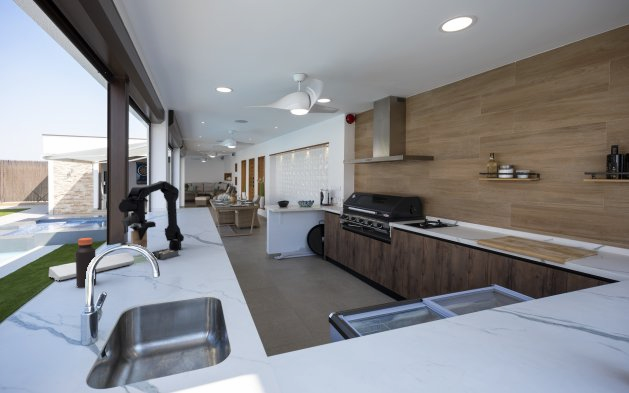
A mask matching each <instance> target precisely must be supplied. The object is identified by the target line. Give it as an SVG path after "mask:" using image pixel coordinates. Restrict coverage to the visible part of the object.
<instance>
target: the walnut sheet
mask: <svg viewBox="0 0 629 393" xmlns="http://www.w3.org/2000/svg"><path fill="white" fill-rule="evenodd" d="M131 243H133V244H138V245H141V246H143V247H145V248H144V249H147V248H148V230H147V231H146V233H145V234H144V236H143V238H142V240H140V238H139V231H138V230H136V231H134V230H130V244H131Z"/></svg>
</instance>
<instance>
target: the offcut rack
mask: <svg viewBox="0 0 629 393" xmlns="http://www.w3.org/2000/svg"><path fill="white" fill-rule="evenodd" d="M167 250H170V251H173V252H169V251H167ZM163 251H167V252H169V253H165V252H163ZM151 252H152V253H153V254H154V256H155V257H156V258H157V259H156V260H158V261H166V260H169V259H170V260H171V259H173V258H177V257H181V255H179V250H177V251H175V250H171V249H169V248H164V249H160V250H155V251H151ZM159 252H163V253H165V254H163V253H159Z"/></svg>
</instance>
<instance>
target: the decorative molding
mask: <svg viewBox="0 0 629 393" xmlns="http://www.w3.org/2000/svg"><path fill="white" fill-rule="evenodd" d="M132 256H133V255H131V254H130V253H128V252H121V253H118V254H117V253H116V254H111V255H106V257H105V256H103V257H104V258H103V259H102V260H101V261H100V262H99V264H98V265H97V267H96V273H99V272H103V271H108V270H112V269H117V268H120V267H124V266H130V265H134V264H133V263H134V261H136V260H133V258H134V257H132ZM49 277H51V278H53V279H54V281H56V280H57V281H58V282H59V280H60V281H63V280H64V281H65V280H67V279H72V278H76V261H75V262H70V263H69V262H68V263H65V264H59V265H54V266H50V267H49V269H48V278H49ZM51 278H50V279H51Z"/></svg>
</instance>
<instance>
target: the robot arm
mask: <svg viewBox="0 0 629 393" xmlns="http://www.w3.org/2000/svg"><path fill="white" fill-rule="evenodd" d="M157 191H160V192H161V193H162V194H163V198H164V200H165V201H166V208H167V227H166V228H164V235H165V238H166V241H167V242H169V243H168V250H169V249H171V250H175V251H177V250H178V251H183V248H182V242H183V241H184V240H185V236H184V235H183V234H182V233H181V228H180V227H179V225H178V217H177V216H178V215H177V212H178V211H177V201H178V199H179V195H180V194H179V193H180V190H179V188H178V187H176V186H174V185H173V184H171V183H169V182H168V181H165V180H164V181H163V180H159V181H157V182H154V183H151V184H148V185H145V186H134V187H131V189H130V191H129V193H128V195H127V196H126V198H122V199H121V202H120V203H119V204H118V210H119V211H120V212H121V213H130V216H126V217H125V218H123V219H121V222H122V225H123V227H125V226H126V227H129V228H131V229H132V231H136V230H138V231H139V238H140V240H142V238H143V236H144V234H145V233H146V231H147V232H148V229H151V228H155V227H156V222H155V221H153V220H151V221H150V220H149V221H148V219H146V215H148V211H146V202H149V200H148V199H147V197H149V195H150V194H151V193H154V192H157Z"/></svg>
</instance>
